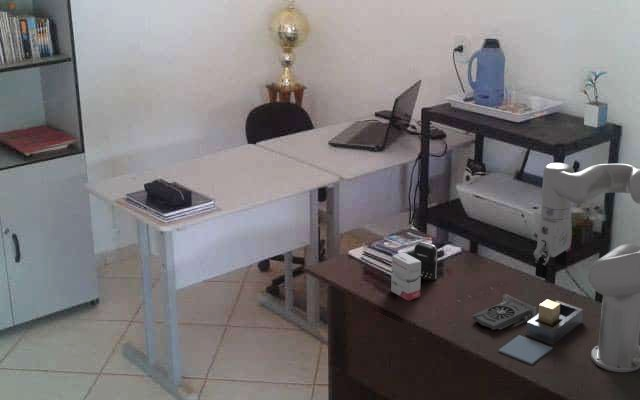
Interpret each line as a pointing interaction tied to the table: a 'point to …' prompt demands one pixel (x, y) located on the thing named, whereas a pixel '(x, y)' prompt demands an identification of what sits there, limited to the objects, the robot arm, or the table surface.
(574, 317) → the cinder block
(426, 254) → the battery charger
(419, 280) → the ink box
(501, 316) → the graphics card
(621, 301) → the robot arm
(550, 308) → the brass peg
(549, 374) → the table surface
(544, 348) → the mat
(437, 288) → the table surface
